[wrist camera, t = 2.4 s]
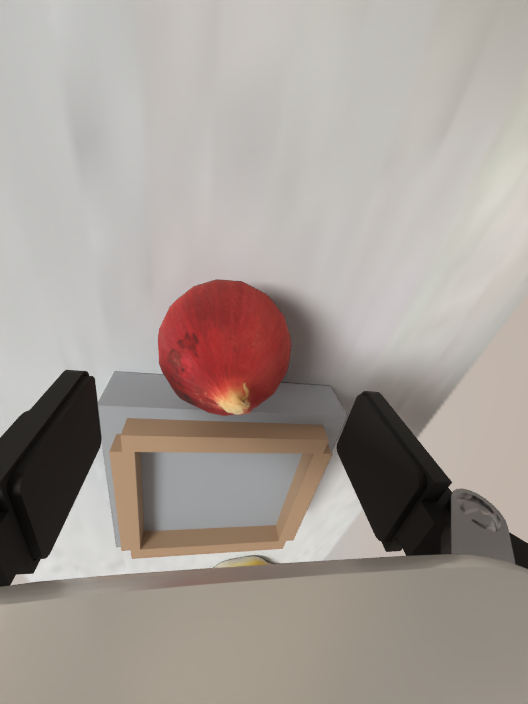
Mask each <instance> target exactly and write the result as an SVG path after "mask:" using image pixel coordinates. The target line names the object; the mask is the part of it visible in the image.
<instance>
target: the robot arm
mask: <svg viewBox="0 0 528 704" xmlns="http://www.w3.org/2000/svg"><path fill="white" fill-rule="evenodd" d="M101 440H102V436H101V427H100V419H99V410H98V402H97V393H96V385H95V378H94V377H93V376H89V374H88V372H86V371H75V370H65V371H64V372H63V373H62V374H61V375H60V376H59V377H58V379H57V380H56V381H55V382H54V383H53V384H52V385H51V387H50V388H49V389H48V390H47V391H46V392H45V393H44V395H43V396H42V397H41V398H40V399H39V400H38V401H37V403H36V404H35V405H34V406H33V407H32V408H31V409H30V411H26V412H24V413H23V414H22V415H21V416H19V418H18V419H17V420H16V421H15V422H14V423H13V424H12V425H11V426H10V428H9V429H8V430H7V431H6V432H5V433H4V434H3V435H2V437H1V438H0V704H528V543H526V542H524V541H523V540H521V539H520V538H518V537H516V536H515V535H513V534H511V533H509V530H508V526H507V523H506V521H505V519H504V517H503V516H502V515H501V513H500V512H499V511H498V510H497V509H496V508H495V507H494V506H493V505H492V504H491V503H490V502H489V501H487V500H486V499H485V498H483V497H482V496H480V495H478V494H477V493H474V492H472V491H469V490H466V489H456V490H454V491H453V492H451V491H450V489H449V488H448V487H449V486H450V484H451V483H452V482H451V480H450V479H449V478H448V477H447V476H446V474H445V473H444V472H443V471H442V469H441V468H440V467H439V466H438V464H437V463H436V462H435V461H434V459H433V458H432V457H431V456H430V455H429V453H428V452H427V451H426V450H425V448H424V447H423V446H422V445H421V443H420V442H419V441H418V439H417V438H416V437H415V436H414V435H413V433H412V432H411V431H410V430H409V428H408V427H407V426H406V425H405V423H404V422H403V421H402V420H401V418H400V417H399V416H398V415H397V413H396V412H395V411H394V410H393V408H392V407H391V406H390V405H389V403H388V402H387V401H386V400H385V398H384V397H383V396H382V395H381V394H380V393H379V392H369V391H364V392H362V393H361V395H358V396H357V398H356V400H355V403H354V405H353V407H352V410H351V412H350V415H349V417H348V419H347V422H346V424H345V427H344V429H343V431H342V434H341V436H340V438H339V441H338V443H337V452H338V455H339V457H340V459H341V461H342V464H343V466H344V468H345V470H346V472H347V475H348V477H349V479H350V481H351V483H352V486H353V488H354V490H355V492H356V494H357V497H358V499H359V501H360V503H361V505H362V508H363V510H364V512H365V514H366V516H367V519H368V521H369V523H370V525H371V527H372V529H373V532H374V534H375V536H376V538H377V539H378V540H379V541H381V542H382V544H383V546H384V548H385V551H386V552H390V551H401V550H402V548H403V550H404V552H405V554H406V556H397V557H380V558H363V559H346V560H329V561H313V562H297V563H282V564H267V565H251V566H236V567H221V568H207V569H193V570H179V571H164V572H150V573H136V574H122V575H109V576H98V577H87V578H75V579H64V580H53V581H41V582H33V583H26V584H18V585H11V583H12V581H13V579H14V577H15V575H16V574H32V573H34V571H35V569H36V567H37V565H38V563H39V561H40V559H45V558H47V557H48V555H49V554H50V552H51V550H52V548H53V546H54V544H55V542H56V540H57V538H58V536H59V533H60V531H61V529H62V527H63V525H64V523H65V521H66V519H67V516H68V514H69V512H70V510H71V508H72V506H73V504H74V502H75V499H76V497H77V495H78V493H79V491H80V489H81V487H82V485H83V482H84V480H85V478H86V476H87V474H88V472H89V470H90V468H91V465H92V463H93V461H94V459H95V457H96V455H97V453H98V451H99V448H100V445H101Z"/></svg>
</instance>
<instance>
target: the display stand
mask: <svg viewBox="0 0 528 704" xmlns="http://www.w3.org/2000/svg"><path fill="white" fill-rule="evenodd" d="M98 410H99V419H100V427H101V436H102V440H101V441H102V449H103V456H104V463H105V470H106V477H107V484H108V491H109V499H110V506H111V513H112V520H113V527H114V534H115V542H116V547H121V550H122V551H125V550H131V556H132V559H135V558H150V557H165V556H180V555H195V554H210V553H225V552H240V551H255V550H270V549H283V547H284V544H285V542H286V541H290V540H294V538H295V535H296V533H297V531H298V529H299V527H300V524H301V522H302V520H303V518H304V516H305V513H306V511H307V509H308V507H309V504H310V502H311V500H312V498H313V496H314V493H315V491H316V489H317V487H318V484H319V482H320V480H321V478H322V476H323V473H324V471H325V469H326V467H327V465H328V462H329V460H330V458H331V456H332V449H333V447H334V445H335V443H336V440H337V438H338V436H339V434H340V431H341V429H342V427H343V425H344V422H345V420H346V418H347V414H346V413H345V411H344V409H343V407H342V405H341V404H340V402H339V400H338V398H337V396H336V395H335V393H334V391H333V389H332V387H331V386H325V385H310V384H295V383H280V385H279V386H278V388H277V390H276V391H275V393H274V394H273V395H272V396H271V397H269V398H268V399H267V400H265V401H264V402H263V403H261V404H260V405H259V406H257V407H256V408H253V409H252V411H251V413H250V414H243V415H228V416H222V415H217V414H212V413H208V412H206V411H204V410H202V409H200V408H198V407H196V406H194V405H191V404H189V403H187V402H185V401H184V400H182V399H180V398H179V397H178V396H177V395H176V394H175V392H174V390H173V389H172V387H171V386H170V384H169V382H168V381H167V379H166V377H165V376H164V375H160V374H145V373H130V372H114V374H113V376H112V377H111V379H110V381H109V383H108V385H107V387H106V389H105V390H104V392H103V394H102V396H101V398H100V400H99V402H98Z"/></svg>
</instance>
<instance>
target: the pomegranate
mask: <svg viewBox="0 0 528 704" xmlns="http://www.w3.org/2000/svg"><path fill="white" fill-rule="evenodd" d="M158 349H159V365H160V367H161V370H162V372H163V374H164V376H165V377H166V379H167V381H168V382H169V384H170V386H171V387H172V389H173V390H174V392H175V394H176V395H177V396H178V397H179V398H180V399H182V400H184V401H185V402H187V403H189V404H191V405H194V406H196V407H198V408H200V409H202V410H204V411H206V412H208V413H212V414H217V415H222V416H228V415H243V414H250V413H251V411H252V409H253V408H256V407H257V406H259V405H260V404H261V403H263V402H264V401H265V400H267V399H268V398H269V397H271V396H272V395H273V394H274V393H275V391H276V390H277V388H278V386H279V385H280V383H281V381H282V380H283V378H284V376H285V374H286V373H287V369H288V366H289V359H290V352H291V339H290V335H289V331H288V328H287V324H286V321H285V317H284V315H283V314H282V313H281V312H280V310H279V309H278V308H277V307H276V305H275V304H274V303H273V302H272V300H271V299H270V298H269V297H268V296H267V295H266V294H265V293H263V292H261V291H259V290H257V289H255V288H254V287H252V286H250V285H248V284H246V283H244V282H242V281H230V280H213V281H210V282H207V283H203V284H200V285H197V286H194V287H192V288H191V289H190V290H189V291H187V292H186V293H185V294H184V295H182V296H181V297H180V298H179V299H177V300H176V301H175V302H174V303H173V304H172V305H171V306H170V308H169V310H168V312H167V314H166V316H165V318H164V320H163V322H162V324H161V327H160V329H159V335H158Z"/></svg>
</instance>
